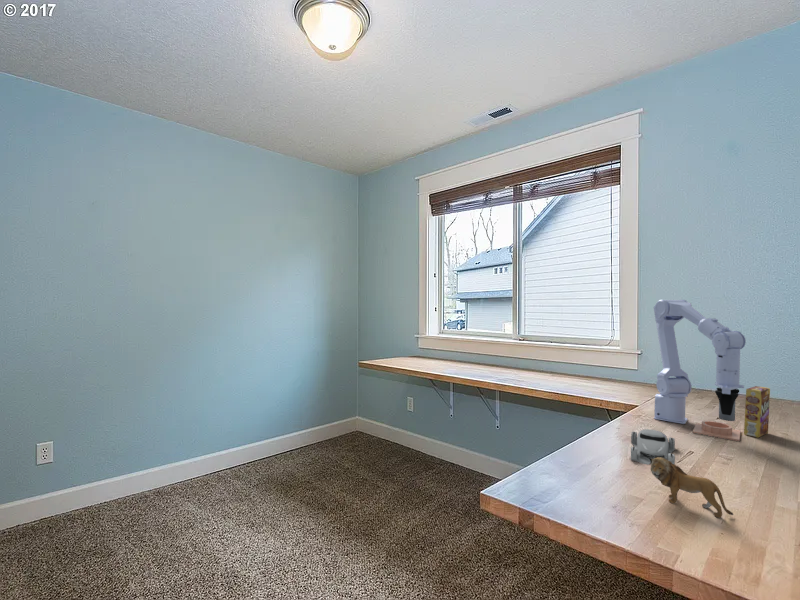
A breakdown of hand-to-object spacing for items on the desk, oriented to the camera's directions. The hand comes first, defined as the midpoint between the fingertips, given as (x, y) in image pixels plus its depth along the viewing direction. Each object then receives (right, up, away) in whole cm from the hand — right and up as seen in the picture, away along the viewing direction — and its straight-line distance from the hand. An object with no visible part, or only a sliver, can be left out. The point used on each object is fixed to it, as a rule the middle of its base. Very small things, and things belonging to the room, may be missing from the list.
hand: (726, 413), depth 130 cm
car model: (-29, -9, -9) cm, 32 cm away
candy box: (+15, -9, +7) cm, 19 cm away
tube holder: (+3, -9, +8) cm, 12 cm away
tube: (0, -2, 0) cm, 2 cm away
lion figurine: (-41, -9, -41) cm, 58 cm away
